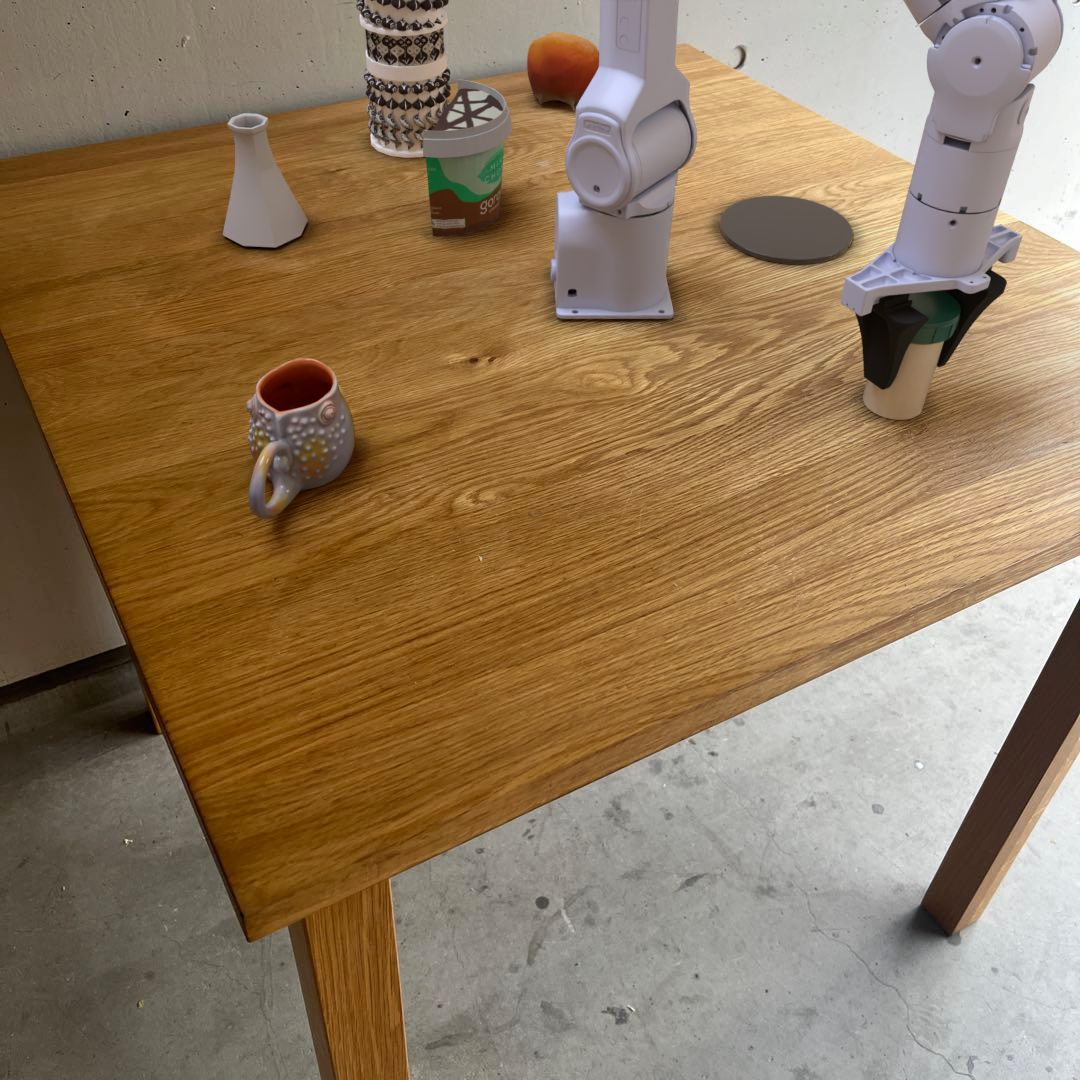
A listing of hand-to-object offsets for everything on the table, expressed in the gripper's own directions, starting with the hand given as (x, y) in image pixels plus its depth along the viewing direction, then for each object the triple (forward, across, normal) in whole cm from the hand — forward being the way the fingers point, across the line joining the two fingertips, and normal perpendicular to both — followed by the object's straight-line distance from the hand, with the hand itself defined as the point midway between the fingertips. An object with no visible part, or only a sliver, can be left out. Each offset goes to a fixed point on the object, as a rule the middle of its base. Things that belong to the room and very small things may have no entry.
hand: (904, 370), depth 80 cm
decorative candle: (+2, -11, +58) cm, 59 cm away
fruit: (+3, +8, +60) cm, 60 cm away
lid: (-5, 0, 0) cm, 5 cm away
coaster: (+3, +10, +24) cm, 26 cm away
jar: (+3, 0, 0) cm, 3 cm away
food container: (+3, -13, +41) cm, 43 cm away
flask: (+3, -31, +48) cm, 57 cm away
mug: (+3, -42, +14) cm, 44 cm away
